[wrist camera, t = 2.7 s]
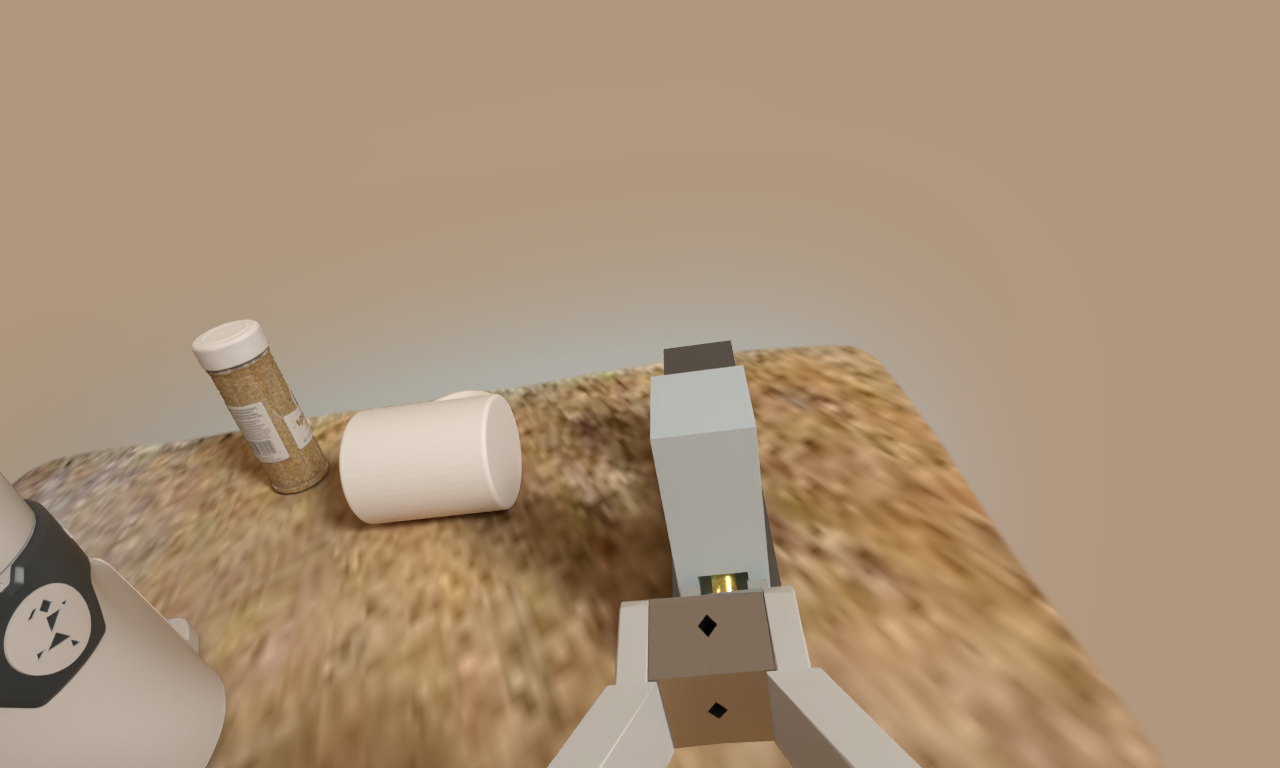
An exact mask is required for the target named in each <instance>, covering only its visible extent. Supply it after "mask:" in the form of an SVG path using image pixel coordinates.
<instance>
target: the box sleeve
mask: <svg viewBox="0 0 1280 768" xmlns="http://www.w3.org/2000/svg"><path fill="white" fill-rule="evenodd" d="M650 442H651V447H652V452H653V457H654V462H655V468H656V473H657V478H658V483H659V488H660V494H661V499H662V504H663V509H664V515H665V520H666V525H667V530H668V535H669V541H670V546H671V551H672V556H673V561H674V567H675V572H676V577H677V582H678V587H679V593H680V597H681V587H685V586H695V585H700V589H701V594H702V595H706V594H711V593H713V592H712V580H711V575H721V574H731V573H735V576H736V584H737V591H738V590H747V589H748V585H747V580H758V579H767V585H768V588H769V587H770V576H769V564H768V553H767V542H766V531H765V520H764V509H763V498H762V487H761V475H760V464H759V453H758V442H757V431H756V424H755V419H754V414H753V410H752V405H751V400H750V395H749V391H748V386H747V381H746V376H745V372H744V367H743V365H740V366H732V367H724V368H717V369H709V370H701V371H693V372H685V373H677V374H670V375H662V376H654V377H651V411H650Z"/></svg>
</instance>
